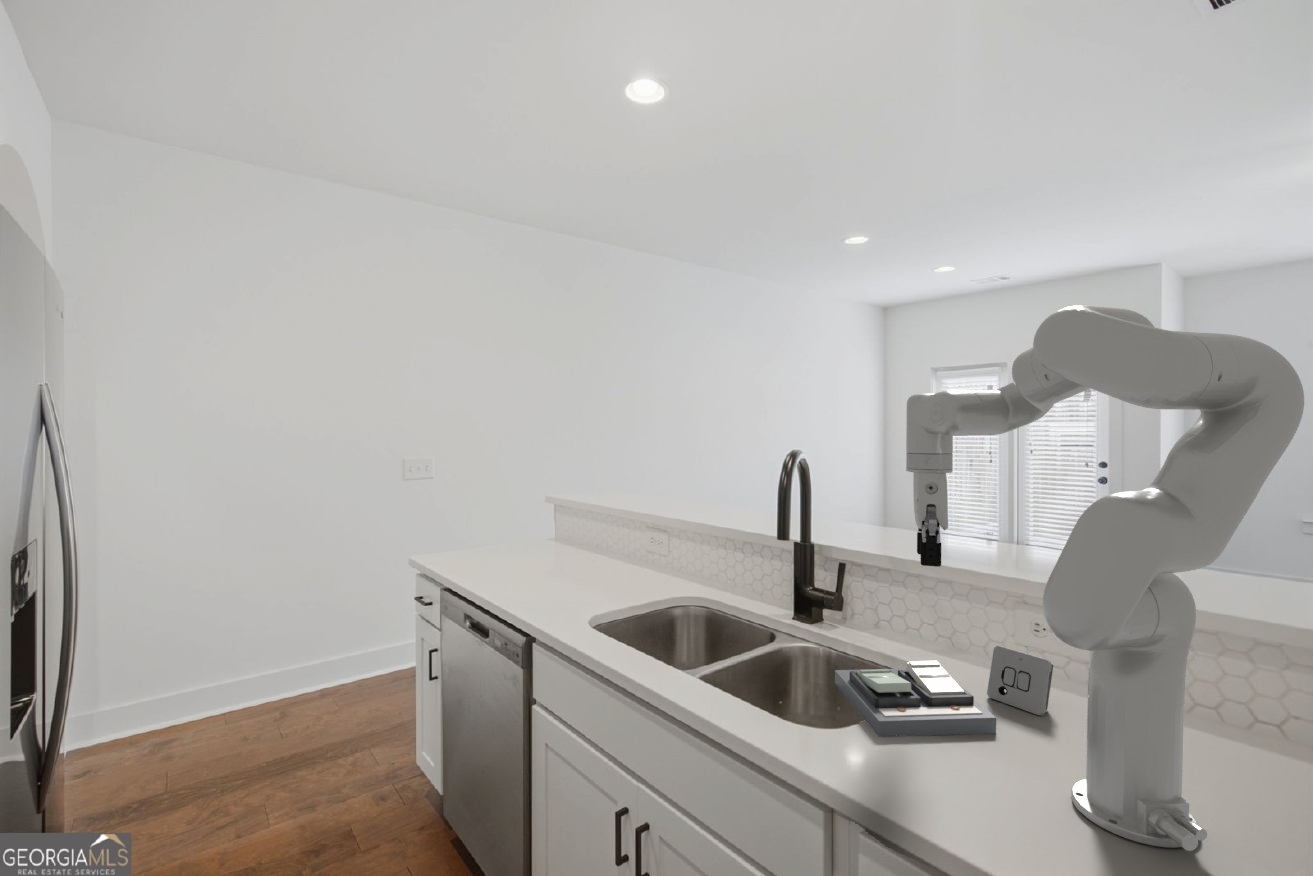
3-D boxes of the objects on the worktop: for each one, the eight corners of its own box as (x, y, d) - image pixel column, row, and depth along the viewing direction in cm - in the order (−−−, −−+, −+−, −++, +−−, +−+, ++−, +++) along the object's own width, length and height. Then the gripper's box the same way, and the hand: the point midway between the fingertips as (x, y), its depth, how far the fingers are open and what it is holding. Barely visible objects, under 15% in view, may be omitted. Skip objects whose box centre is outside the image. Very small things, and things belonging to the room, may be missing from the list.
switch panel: (996, 733, 99) (996, 708, 99) (879, 737, 98) (879, 711, 98) (932, 680, 119) (932, 660, 119) (834, 683, 118) (834, 662, 118)
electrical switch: (985, 698, 112) (989, 645, 112) (1000, 693, 115) (1003, 642, 115) (1042, 718, 104) (1045, 662, 104) (1056, 713, 107) (1059, 658, 107)
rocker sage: (911, 692, 104) (910, 680, 104) (878, 693, 103) (877, 681, 104) (888, 680, 113) (887, 668, 113) (858, 680, 112) (857, 669, 112)
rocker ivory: (962, 699, 105) (964, 689, 104) (930, 700, 104) (931, 690, 104) (936, 669, 113) (937, 659, 113) (906, 670, 113) (907, 660, 113)
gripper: (958, 467, 101) (957, 572, 102) (947, 461, 117) (946, 551, 118) (908, 466, 104) (908, 569, 104) (904, 460, 120) (903, 549, 120)
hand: (928, 559), depth 111 cm, fingers open, 9 cm apart
